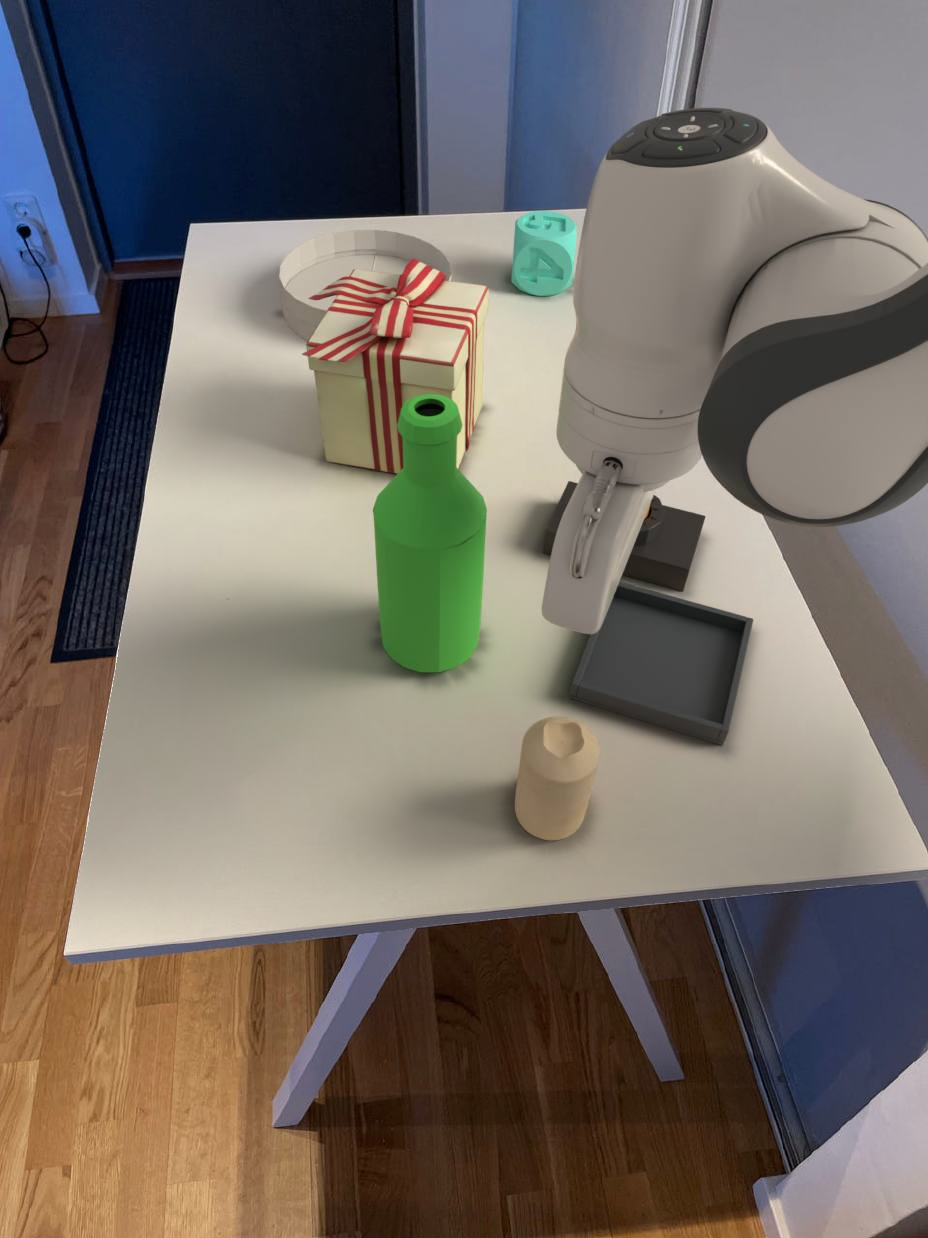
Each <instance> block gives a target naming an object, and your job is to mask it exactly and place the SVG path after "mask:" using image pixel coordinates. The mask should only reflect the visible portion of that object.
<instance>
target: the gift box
mask: <svg viewBox="0 0 928 1238" xmlns="http://www.w3.org/2000/svg"><path fill="white" fill-rule="evenodd" d="M445 277H446V274H444V273H442V272H440V271H438V270H436V269H434V268H432V267H429V266H428V265H426V264H424V263H422V262H420V261H418V260H416V259H412V260H411V261H410V262H409V263H408V264H407V265H406V267H405V269H404V272H403V274H402V275H398V274H389V273H382V272H374V271H366V270H357V269H354V270H353V271H352V273H351V274H350V276H349V277H342V278H340V279H338V280H337V281H335V282H333V283H332V284H330V285H329V286H327V287H326V288H324V289H323V290H322V291H320V292H319V293H318V294H316V295H314V296H312V297H310V298H309V299H311V300H321V299H323V298H327V297H330V296H335V295H336V298H335V299H334V301H333V302H332V304H331V305H330V307H329V309H328V310H327V312H326V314H325V316H324V317H323V319H322V320H321V322H320V323H319V325H318V326H317V328H316V329H315V331H314V332H313V334H312V335H311V337H310V339H309V340H307V342H306V344H305V346H306V351H305V352H303V353H302V354H301V355H302V356H305V357H307V361H308V369H309V370H310V371H313V373H314V381H315V389H316V397H317V402H318V403H317V404H318V411H319V418H320V425H321V426H320V427H321V435H322V440H323V441H322V442H323V448H324V449H323V450H324V455H325V461H326V462H327V463H331V464H337V465H338V464H339V465H345V466H350V467H356V468H363V469H367V470H368V469H369V470H374V471H378V472H385V473H392V474H398V473H399V472H400V471H401V470H402V469H403V437H402V435H401V434H400V433H399V432H398V427H397V424H398V420H399V416H400V412H401V409H402V406H403V404H404V403H406V402H407V401H408V400H409V399H412V398H414V397H416V396H421V395H425V394H436V395H441V396H445V397H447V398H449V399H452V400H453V401H454V402H455V403H456V404H457V407H458V410H459V414H460V417H461V421H462V425H463V426H462V429H461V432H460V433H459V434H458V435H457V462H456V467H457V468H458V469H459V468H460V465H461V463H462V460H463V458H464V455H465V453H466V452H468V450H469V449H470V439H471V437H472V436H473V434H474V429H475V426H476V423H477V422H478V418H479V416H480V413H481V410H482V409H483V406H484V357H485V356H484V355H485V354H484V353H485V352H484V351H485V350H484V349H485V321H486V318H487V315H488V314H489V293H490V291H489V286H488V285H486V284H485V285H484V284H477V283H469V282H461V281H453V280H451V281H446V280H444V278H445Z"/></svg>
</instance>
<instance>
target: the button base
mask: <svg viewBox="0 0 928 1238" xmlns="http://www.w3.org/2000/svg"><path fill="white" fill-rule="evenodd" d="M577 484H578V482H574V481H571V480H568V481H567V484H566V486H565V488H564V490H563V492H562V494H561V496H560V498H559V500H558V503H557V505H556V507H555V509H554V511H553V513H552V516H551V518H550V520H549V522H548V524H547V526H546V528H545V531H544V539H543V547H542V553H543V554H546V555H549V556H551V553H552V549H553V544H554V540H555V537H556V533H557V530H558V527H559V524H560V521H561V518H562V516H563V513H564V511H565V509H566V507H567V505H568V503H569V501H570V499H571V497H572V495H573V493H574V490H575V488H576V486H577ZM705 520H706V515H703V514H699V513H696V512H691V511H688V510H683V509H679V508H676V507H672V506H668V505H664V504H663V503H662V501H661V499H660V498H659V497H658V496H656V495H655V494H654V495H653V498H652V500H651V503H650V507H649V512H648V516H647V517H646V519H645V520H644V521H643V523H642V526H641V528H640V531H639V533H638V536H637V538H636V541H635V543H634V546H633V548H632V551H631V553H630V556H629V558H628V561H627V564H626V566H625V569H624V571H623V574H622V576H625V577H629V578H632V579H636V580H640V581H642V582H647V583H651V584H654V585H657V586H662V587H664V588H668V589H672V590H676V591H679V592H684V591H685V587H686V584H687V582H688V581H687V580H688V577H689V573H690V570H691V568H692V564H693V561H694V557H695V554H696V550H697V547H698V544H699V540H700V536H701V533H702V530H703V528H704V523H705Z"/></svg>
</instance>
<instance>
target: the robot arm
mask: <svg viewBox="0 0 928 1238" xmlns="http://www.w3.org/2000/svg"><path fill="white" fill-rule="evenodd" d="M575 265H576V266H575V273H574V280H573V289H572V302H573V303H572V305H573V310H574V313H575V331H574V334H573V337H572V339H571V341H570V343H569V345H568V347H567V350H566V353H565V356H564V363H563V371H562V378H561V379H562V380H561V388H560V389H561V390H560V396H559V404H558V413H557V419H556V420H557V422H556V429H555V431H556V432H555V433H556V439H557V443H558V446H559V448H560V449H561V451H562V453H564V455H565V456H566V457H567V458H568V460H570V461H571V462H572V463H573V464H574V465H575V466H576V468H577V469H578V471H579V472H580V473H581V476H580V478H579V481H578V482H577V483H578V484H577V486H576V488H575V490H574V493H573V495H572V497H571V499H570V501H569V503H568V505H567V507H566V509H565V511H564V513H563V516H562V518H561V521H560V524H559V527H558V530H557V533H556V537H555V540H554V544H553V549H552V553H551V555H550V557H549V564H548V569H547V575H546V579H545V586H544V590H543V598H542V602H541V615H542V617H543V618H544V619H545V620H546V622H549V623H550V624H553V625H555V626H558V627H560V628H564V629H566V630H569V631H573V632H577V633H582V634H587V635H590V634H595V633H597V632H598V631H599V630H600V628H601V626H602V624H603V621H604V619H605V617H606V614H607V611H608V609H609V606H610V604H611V601H612V599H613V596H614V594H615V591H616V589H617V586H618V584H619V582H621V578H622V576H623V575H622V574H623V571H624V569H625V566H626V564H627V561H628V558H629V556H630V553H631V551H632V548H633V546H634V543H635V541H636V538H637V536H638V533H639V531H640V528H641V526H642V523H643V521H644V518H645V516H646V513H647V511H648V508H649V505H650V503H651V500H652V498H653V495H655V493H656V490H657V489H659V488H662V487H663V486H665V485H667V484H668V483H669V482H670V481H673V480H675V479H678V478H680V477H682V476H684V475H686V474H687V473H688V472H690V471H692V469H694V468H695V466H696V465H697V464H698V463H699V461H700V460H701V459H703V460H704V463H705V464H706V467H707V468H708V470H709V471H710V473H711V474H712V476H713V477H714V479H715V480H716V481H717V483H719V484H720V485H721V486H722V488H724V490H726V491H727V492H728V494H730V495H731V496H732V497H733V498H734V499H736V500H737V501H738V502H740V503H741V504H743V505H744V506H745V507H747V508H749V509H751V510H753V511H754V512H756V513H758V514H760V515H763V516H764V517H767V518H770V519H773V520H775V521H778V522H782V523H785V524H790V525H793V526H799V527H800V526H801V527H811V528H826V527H837V526H845V525H849V524H850V525H851V524H854V523H859V522H864V521H867V520H869V519H873V518H876V517H878V516H880V515H882V514H885V513H887V512H890V511H892V510H894V509H896V508H897V507H899V506H901V505H902V504H904V503H906V502H907V501H909V500H911V498H912V497H914V496H915V495H916V494H918V493H919V492H920V491H921V490H922V489H923V488H924V487H926V486H927V484H928V236H927V235H926V233H925V232H924V231H923V229H922V228H921V227H920V226H919V224H917V223H916V221H915V220H914V219H912V218H911V217H910V216H909V215H907V214H905V213H904V212H903V211H901V210H899V209H898V208H895V207H894V206H891V205H889V204H886V203H883V202H880V201H877V200H872V199H865V198H861V197H859V196H858V195H857V196H856V195H854V194H852V193H850V192H847V191H846V190H844V189H842V188H840V187H837V185H834V184H832V183H830V182H829V181H827V180H825V179H823V178H822V177H820V176H819V175H817V174H816V173H814V172H813V171H812V170H810V169H809V168H807V167H806V166H804V164H802V163H801V162H800V161H798V160H797V159H796V158H795V157H794V156H793V155H792V154H790V152H789V151H788V150H787V149H785V148H784V146H783V145H782V144H781V143H780V141H779V140H778V139H777V136H776V135H775V134H774V132H773V131H772V129H771V128H770V127H769V126H768V124H766V123H765V122H764V121H762V119H760V118H758V117H756V116H754V115H751V114H749V113H745V112H740V111H736V110H733V109H732V108H731V109H730V108H725V107H694V108H686V109H679V110H674V111H668V112H664V113H662V114H661V115H658V116H655V117H652V118H650V119H646V120H643V121H641V122H639V123H637V124H636V125H634V126H633V127H631V128H630V129H629V130H627V131H626V132H625V133H623V134H622V135H621V136H620V137H619V138H618V139H617V140H616V141H615V142H614V143H613V144H612V146H610V148H609V149H608V150H607V152H606V153H605V155H604V156H603V158H602V159H601V161H600V163H599V166H598V168H597V171H596V173H595V177H594V180H593V182H592V186H591V189H590V192H589V197H588V201H587V205H586V208H585V213H584V218H583V222H582V228H581V234H580V240H579V246H578V252H577V258H576V264H575Z"/></svg>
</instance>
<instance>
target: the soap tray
mask: <svg viewBox="0 0 928 1238" xmlns="http://www.w3.org/2000/svg"><path fill="white" fill-rule="evenodd" d="M753 624H754V618H751V617H747V616H745V615H741V614H737V613H735V612H731V611H727V610H724V609H720V608H716V607H713V606H709V605H706V604H702V603H699V602H695V601H691V600H689V599H688V600H687V599H684V598H680V597H676V596H673V595H669V594H665V593H663V592H658V591H655V590H651V589H648V588H644V587H640V586H637V585H633V584H629V583H626V582H622V581H619V584H618V586H617V589H616V591H615V594H614V596H613V599H612V601H611V604H610V606H609V609H608V611H607V614H606V617H605V619H604V621H603V624H602V626H601V628H600V630H599V631H598V632H597V633H595V634H589V636H588V639H587V642H586V645H585V647H584V650H583V653H582V654H581V655H582V656H581V659H580V660H579V664H578V666H577V669H576V671H575V674H574V676H573V679H572V681H571V685H570V691H569V696H568V698H569V699H571V700H574V701H577V702H581V703H584V704H587V705H591V706H593V707H597V708H600V709H603V710H607V711H610V712H613V713H616V714H619V715H623V716H626V717H629V718H633V719H636V720H639V721H642V722H646V723H648V724H653V725H655V726H658V727H662V728H665V729H668V730H671V731H675V732H678V733H681V734H684V735H687V736H691V737H693V738H696V739H697V738H698V739H700V740H703V741H707V742H710V743H713V744H716V745H720V746H724V744H725V741H726V740H727V736H728V735H729V733H730V728H731V724H732V723H731V722H732V718H733V715H734V709H735V704H736V700H737V696H738V691H739V686H740V682H741V677H742V673H743V670H744V669H743V668H744V664H745V660H746V655H747V650H748V646H749V641H750V637H751V632H752V628H753Z"/></svg>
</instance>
